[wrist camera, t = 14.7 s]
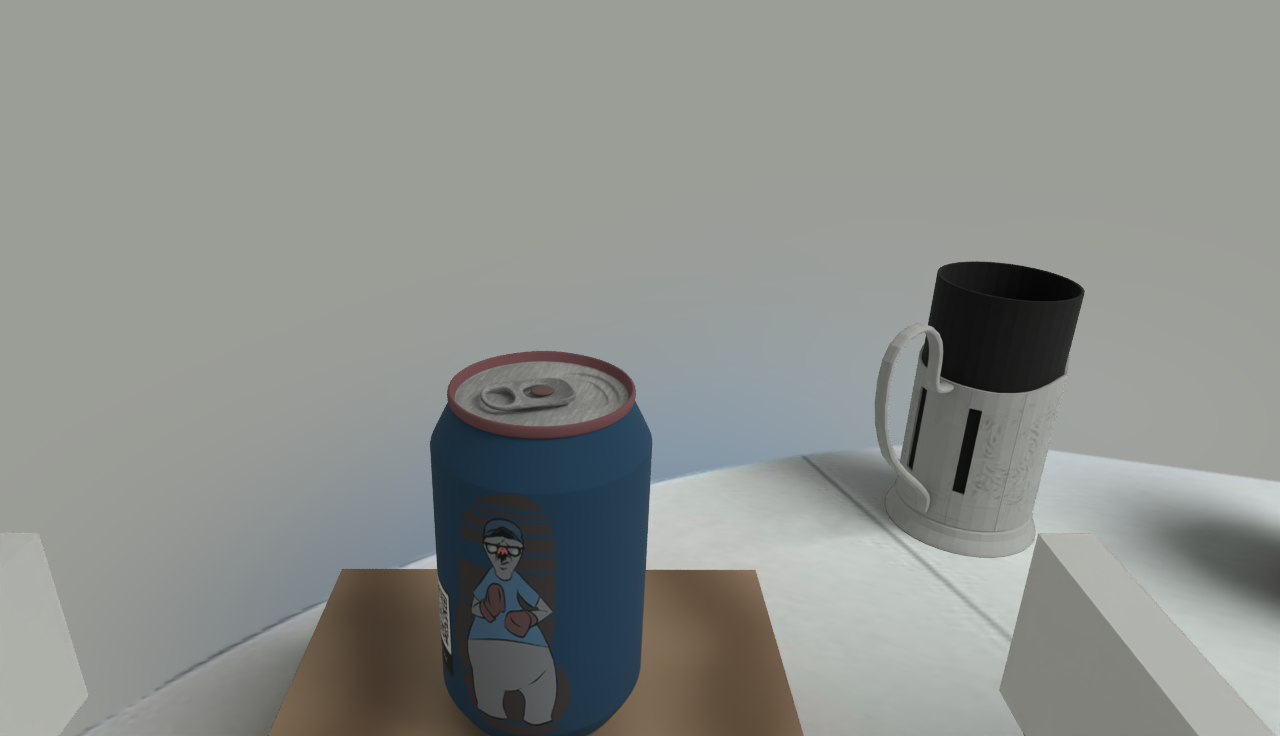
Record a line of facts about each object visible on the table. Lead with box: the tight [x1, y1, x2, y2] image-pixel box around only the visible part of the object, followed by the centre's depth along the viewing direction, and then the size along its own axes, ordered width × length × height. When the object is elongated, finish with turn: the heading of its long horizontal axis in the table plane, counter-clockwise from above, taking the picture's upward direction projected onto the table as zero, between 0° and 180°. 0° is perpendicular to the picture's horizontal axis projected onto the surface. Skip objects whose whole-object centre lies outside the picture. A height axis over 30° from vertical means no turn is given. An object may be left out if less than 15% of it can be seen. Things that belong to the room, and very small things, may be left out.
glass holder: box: [875, 262, 1084, 557], centre depth 48 cm, size 9×14×15 cm, turn 126°
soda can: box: [430, 351, 652, 736], centre depth 29 cm, size 7×7×12 cm
